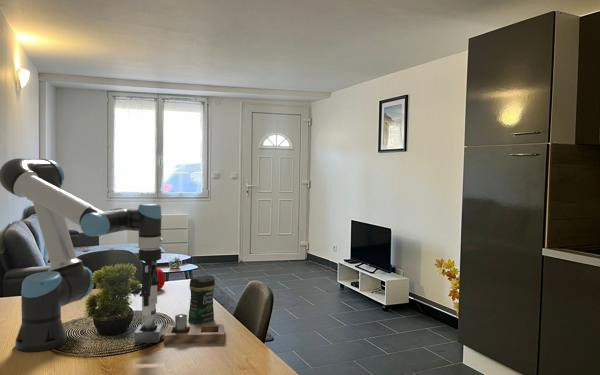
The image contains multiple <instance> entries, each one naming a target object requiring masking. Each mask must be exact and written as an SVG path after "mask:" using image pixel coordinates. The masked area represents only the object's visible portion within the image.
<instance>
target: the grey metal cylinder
mask: <svg viewBox="0 0 600 375" xmlns="http://www.w3.org/2000/svg"><path fill="white" fill-rule="evenodd" d="M156 305H157V304H156V300H151V315H147V316H142V315H141V322H142V324H141V325H142V331H155V324H156V320H157V318H156V317H157V316H156V314H157V306H156Z"/></svg>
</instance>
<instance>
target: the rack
mask: <svg viewBox="0 0 600 375" xmlns="http://www.w3.org/2000/svg"><path fill="white" fill-rule="evenodd" d="M224 343H225V323H224V324H223V323H221V324H216V323H215V324H200V325H196V324H187V333H175V324H173V325H171V324H169V325H167V327H166V329H165V332H164V335H163V345H186V344H187V345H189V344H195V345H196V344H224Z"/></svg>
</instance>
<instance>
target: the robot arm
mask: <svg viewBox="0 0 600 375" xmlns="http://www.w3.org/2000/svg"><path fill="white" fill-rule="evenodd" d="M64 181H65V174H64V170H63V169H62V167H61V165H60V164H58V162H55V161H54V160H52V159H47V158H19V157H18V158H13V159H10V160H8V161H6V162H5V163H3V165H2V166H1V167H0V185H1V187H3V189H5V190H6V191H8V192H9V193H10V194H12V195H14V196H16V197H18V198H26V199H27V200H29V201H31V202H32V204H33V208H34V211H35V215H36V218H37V221H38V225H39V227H40V231H41V234H42V239H43V242H44V246H45V250H46V252H47V255H48V259H49V263H50V266H49V268H48V270H46V271H42V272H36V273H32V274H30V275H28V276H26V277H24V279H23V281H22V283H21V289H20V290H21V291H20V294H21V297H20V298H21V324H20V327H19V329H18V333H17V335H16V338H15V349H16V350H17V351H21V352H26V353H27V352H28V353H36V352H43V351H48V350H53V349H57V348H59V347H61V346H62V345H64V344H65V343H66V342H67V331H66V329H65V327H64V324H63V320H62V307H64V306H67V305H69V304H72V303H74V302H78V301H81V300H82V299H83V298H86V297H88V296H89V295H90V294H91V293H92V290H93V288H94V287H95V286H94V285H95V283H94V284H93V283H91V278H92V276H94V274H93V272H92V270H91V269H89V268H88V267H86V266H85V265H84V263H83V260H82V259H79V258H77V256H76V252H75V248H74V244H73V241H72V238H71V234H70V231H69V228H68V224H67V221H66V219H67V220H68V221H69V222H72V223H74V224H76V225H77V226H80V230H81V231H82V232H83V234H84V235H86V236H88V237H101V236H104V235H108V234H113V233H114V234H115V233H118V232H123V231H124V232H125V231H135V232H138V239H137V240H138V245H137V247H138V248H139V250H138V260H139V262H144V265H143V266H142V276H141V277H142V279H141V287H140V288H141V290H140V294H139V297H141V317H142V316H147V315H151V300H156V305H157V304H158V290H157V285H159V282H158V274H157V268H158V265H157V264H158V263H157V262H158V261H160V260H161V259H162V249H161V247H162V242H163V241H164V239H163V238H162V218H163V216H162V205H160V204H159V203H140V204H139V205H138V209H137V208H123V207H118V208H110V209H109V210H102V209H100V208H98V207H96V206H94V205H92V204H90V203H88V202H86V201H84V200H82V199H81V198H80V197H79V198H78V197H77V196H74V195H73V194H71V193H69V192H67V191H66V190H63V189H62V185H63V184H64ZM60 345H61V346H60ZM58 346H59V347H58Z"/></svg>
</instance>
